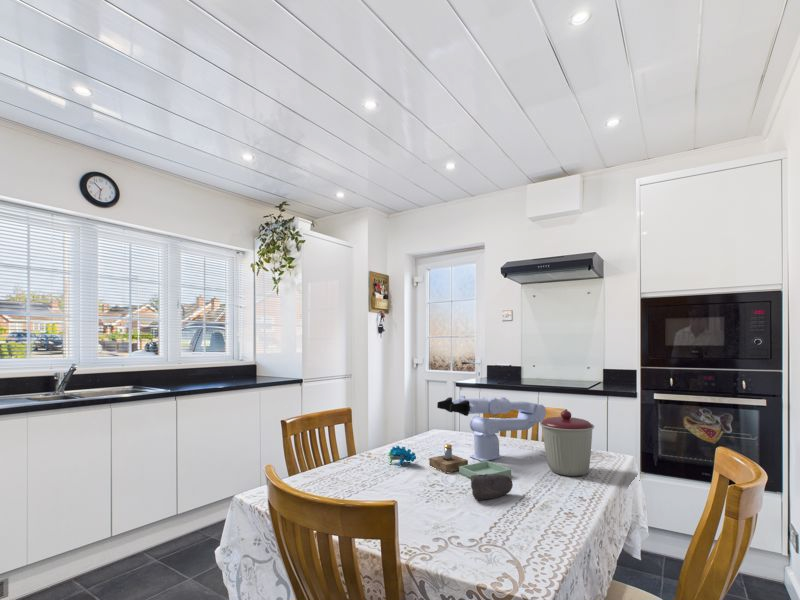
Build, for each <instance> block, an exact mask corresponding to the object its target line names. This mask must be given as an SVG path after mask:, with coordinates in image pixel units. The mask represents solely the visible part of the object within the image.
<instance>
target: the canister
mask: <svg viewBox="0 0 800 600" xmlns="http://www.w3.org/2000/svg"><path fill="white" fill-rule="evenodd" d="M539 425H540V426H541V431H542V438H543V445H544V452H545V457H546V462H547V466H548V468H549V469H550V471H552V472H553V473H556V474H558V475H561V476H567V477H579V476H584V475H585V474H587V473H588V471H589V470H590V463H591V455H592V442H593V430H594V429H595V425H594V424H593V423H592V422H589V420H586V419H583V418H579V417H578V418H577V417H572V413H571V411H569V410H562V411H561V412H560V416H552V417H547V418H544V419H543V421H541V422H539Z"/></svg>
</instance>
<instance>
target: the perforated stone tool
mask: <svg viewBox="0 0 800 600" xmlns="http://www.w3.org/2000/svg"><path fill="white" fill-rule="evenodd" d="M470 487H471V488H470V489H471V491H472V493H471V494H472V497H474V498H473V499H474V500H476V501H477V500H478V501H479V500H484V501H485V500H486V501H487V500H492V499H497V498H500V497H503V496H506V495H507V494H509V493H510V492H511V490H512V489H513V480H512V478H511V477H507V476H505V475H501V474H484V475H473V476H471V479H470Z"/></svg>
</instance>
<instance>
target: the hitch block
mask: <svg viewBox="0 0 800 600" xmlns="http://www.w3.org/2000/svg"><path fill="white" fill-rule="evenodd" d="M428 459H429V461H428V462H429V463H428V464H429V465H430V466H432V467H434V468H436V469H435V470H437V469H439V470H441V471H443V472H445V473H444V474H448V473H447V472H451V473H454V472H453V471H456V472H458V471H457V470H459V467H460V466H465V465H469V460H468V459H465V458H463V457H461V456H457V455H455V454H452V460H451V461H446V460H445V454H443V455H438V456H433V457H429V458H428ZM430 466H429V467H430ZM432 467H431V468H432ZM434 468H433V469H434ZM439 470H438V471H439ZM441 471H440V472H441ZM443 472H442V473H443Z"/></svg>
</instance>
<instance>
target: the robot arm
mask: <svg viewBox="0 0 800 600" xmlns="http://www.w3.org/2000/svg"><path fill="white" fill-rule="evenodd" d="M436 406H437V407H436V408H437V409H440V410H445V411H447V412H449V413H458V414H460V415H462V416H466V417H469V415H472V414H473V415H474V416H472V417H471V419H470V421H469V428H470V429H471V431H472V434H473V441H474V442H473V443H474V445H473V446H474V447H473V448H474V454H472V455H470V456H469V457H470V458H473V459H475V460H478V461H480V462H484V461H493V460H497V459H498V460H499V459H501V458H502V456H500V440H499V437H498V436H497V434H499V432H509V431H512V432H513V431H527V430H530V429H531V428H533V427H534V426H535V425H537V424H540V422H541V421H543V420H544V419H545V417H546V414H547V411H546V407H545V406H544V405H543V404H538V403H533V402H529V401H522V400H520V401H510V399H508V398H507V397H504V396H503V397H502V396H501V397H500V398H497V397H492V398H488V397H487V398H486V397H482V398H466V396H465V395H460V397H459V398H458V399H454V400H453V397H451V396H450V397H447V398H446V399H445V400H440V401H437V405H436ZM511 411H518V414H517V417H510V418H509V417H508V418H507V417H506V418H489V417H488V418H487V417H483V416H482V417H481V416H479V414H480V415H481V414H491V415H495V416H496V415H497V414H508V413H510V412H511Z"/></svg>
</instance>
